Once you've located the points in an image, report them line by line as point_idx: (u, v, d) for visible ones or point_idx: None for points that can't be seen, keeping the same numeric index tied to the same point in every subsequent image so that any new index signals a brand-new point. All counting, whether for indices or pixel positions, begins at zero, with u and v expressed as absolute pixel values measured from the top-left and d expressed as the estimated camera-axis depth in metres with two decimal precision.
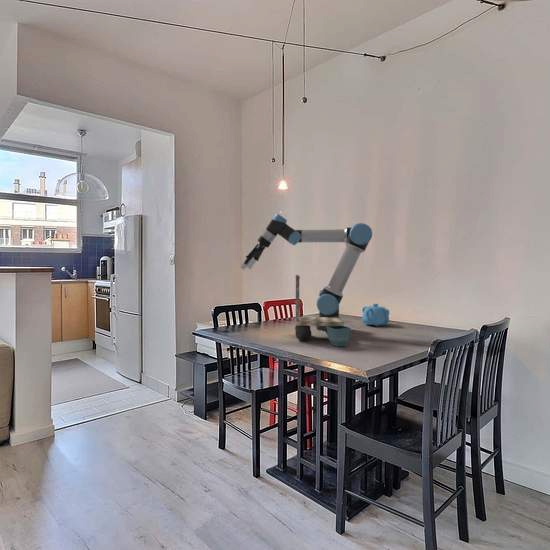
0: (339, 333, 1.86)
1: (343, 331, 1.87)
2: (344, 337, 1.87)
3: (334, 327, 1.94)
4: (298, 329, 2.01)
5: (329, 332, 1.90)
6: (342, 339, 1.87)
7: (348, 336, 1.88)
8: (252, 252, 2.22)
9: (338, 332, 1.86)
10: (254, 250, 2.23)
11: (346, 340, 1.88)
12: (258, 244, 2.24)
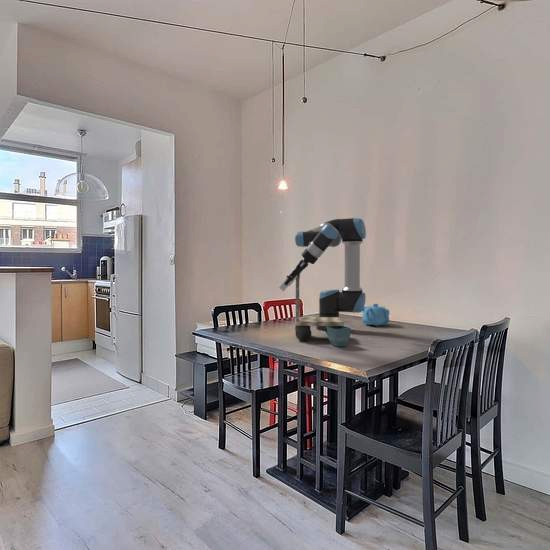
0: (339, 333, 1.86)
1: (343, 331, 1.87)
2: (344, 337, 1.87)
3: (334, 327, 1.94)
4: (298, 329, 2.01)
5: (329, 332, 1.90)
6: (342, 339, 1.87)
7: (348, 336, 1.88)
8: (294, 272, 1.83)
9: (338, 332, 1.86)
10: (297, 269, 1.83)
11: (346, 340, 1.88)
12: (302, 262, 1.83)
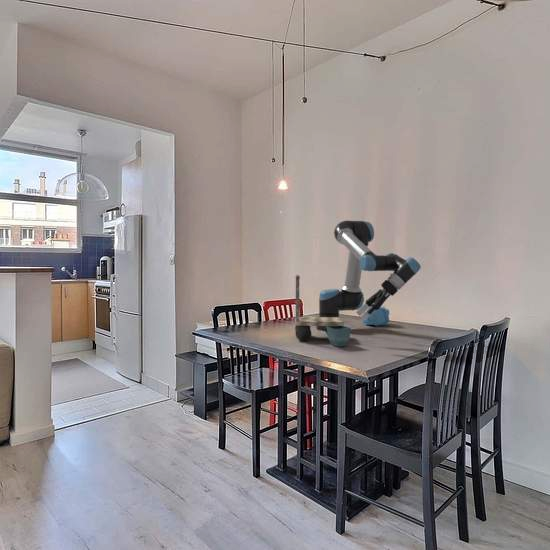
0: (339, 333, 1.86)
1: (343, 331, 1.87)
2: (344, 337, 1.87)
3: (334, 327, 1.94)
4: (298, 329, 2.01)
5: (329, 332, 1.90)
6: (342, 339, 1.87)
7: (348, 336, 1.88)
8: (380, 301, 1.81)
9: (338, 332, 1.86)
10: (383, 299, 1.81)
11: (346, 340, 1.88)
12: (387, 292, 1.83)
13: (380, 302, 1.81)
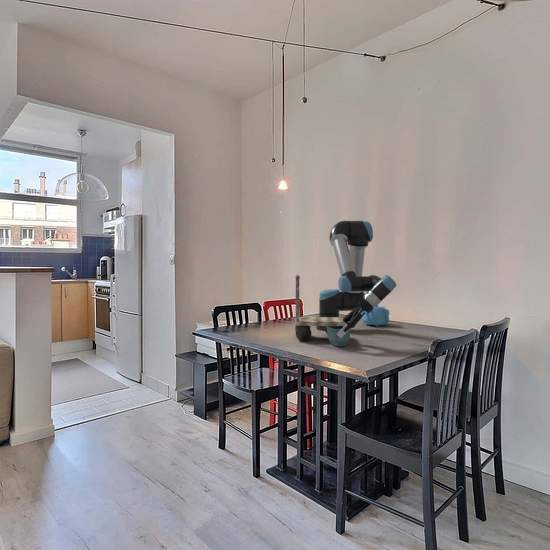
0: None
1: None
2: (344, 337, 1.87)
3: (334, 327, 1.94)
4: (298, 329, 2.01)
5: (329, 332, 1.90)
6: (342, 339, 1.87)
7: (348, 336, 1.88)
8: (356, 319, 1.81)
9: None
10: (358, 317, 1.82)
11: (346, 340, 1.88)
12: (363, 310, 1.83)
13: (355, 320, 1.81)
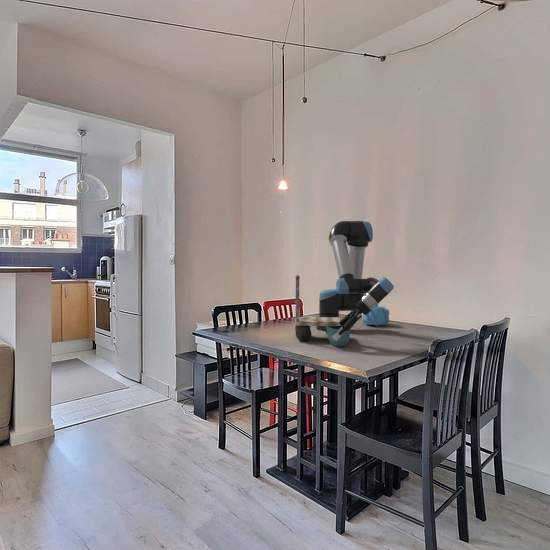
0: None
1: None
2: (344, 337, 1.87)
3: (334, 327, 1.94)
4: (298, 329, 2.01)
5: (329, 332, 1.90)
6: (342, 339, 1.87)
7: (348, 336, 1.88)
8: (351, 322, 1.82)
9: None
10: (354, 320, 1.83)
11: (346, 340, 1.88)
12: (359, 313, 1.83)
13: (351, 323, 1.82)
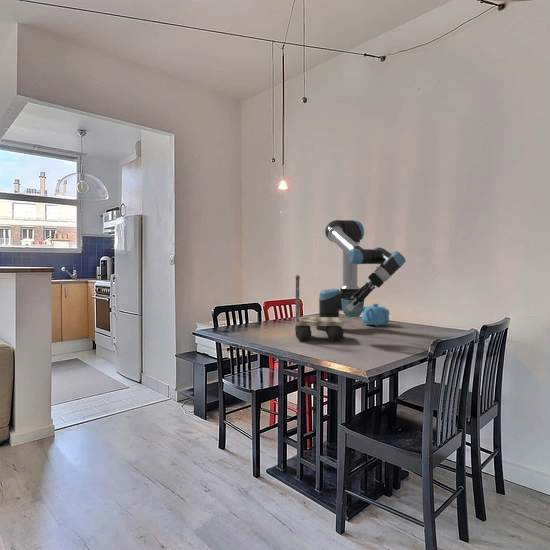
0: None
1: None
2: (358, 308, 1.97)
3: (348, 299, 2.04)
4: (298, 329, 2.01)
5: (343, 304, 2.00)
6: (356, 310, 1.96)
7: (361, 307, 1.97)
8: (365, 293, 1.92)
9: None
10: (367, 291, 1.92)
11: (359, 311, 1.97)
12: (372, 284, 1.93)
13: (364, 294, 1.91)
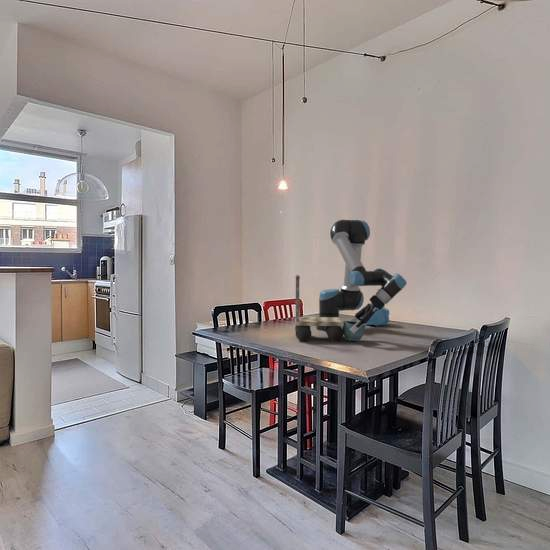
0: None
1: None
2: (358, 333, 1.98)
3: (350, 322, 2.05)
4: (298, 329, 2.01)
5: (344, 326, 2.01)
6: (356, 334, 1.98)
7: (362, 332, 1.98)
8: (368, 315, 1.92)
9: None
10: (370, 313, 1.92)
11: (360, 335, 1.98)
12: (374, 306, 1.94)
13: (368, 316, 1.92)
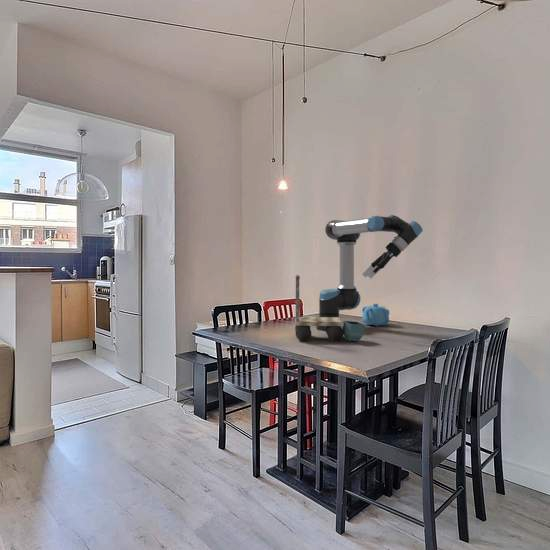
0: (354, 328, 1.97)
1: (358, 327, 1.97)
2: (358, 333, 1.98)
3: (350, 322, 2.05)
4: (298, 329, 2.01)
5: (344, 326, 2.01)
6: (356, 334, 1.98)
7: (362, 332, 1.98)
8: (385, 260, 1.95)
9: (353, 327, 1.96)
10: (387, 258, 1.95)
11: (360, 335, 1.98)
12: (391, 252, 1.97)
13: (385, 261, 1.95)
